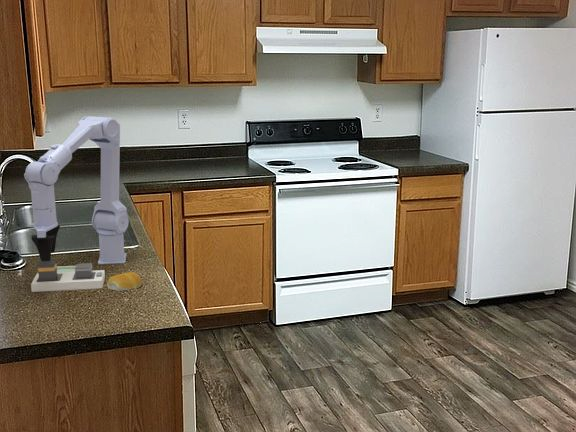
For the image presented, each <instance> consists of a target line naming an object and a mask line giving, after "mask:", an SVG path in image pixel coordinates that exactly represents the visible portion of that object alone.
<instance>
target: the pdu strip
mask: <svg viewBox="0 0 576 432" xmlns="http://www.w3.org/2000/svg"><path fill="white" fill-rule="evenodd" d="M75 266H76V267H75V271H74V272H57V278H58V281H48V282H39V273H38V272H37V273H36V275H35V276H34V277H33V279H32V282H31V284H30V288H31V293H35V292H36V293H37V292H55V291H58V292H59V291H75V290H93V289H94V290H95V289H103V287H104V282H105V278H106V276H105V275H106V273H105V269H100V270H99V269H97V270H93V263H92V262H86V263H85V262H84V263H76V265H75Z"/></svg>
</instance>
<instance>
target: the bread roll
mask: <svg viewBox="0 0 576 432" xmlns="http://www.w3.org/2000/svg"><path fill="white" fill-rule="evenodd" d="M142 285H143V282H142V277H140V275H138V273H135V272H133V271H129V272H123V273H119V274H115V275H112V276H110V277H109V278H108V280H107V282H106V287H107V288H108V289H109V290H113V291H115V292H123V291H124V292H125V291H129V290H133V289H139V288H140V287H141V286H142Z"/></svg>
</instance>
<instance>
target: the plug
mask: <svg viewBox="0 0 576 432" xmlns="http://www.w3.org/2000/svg"><path fill="white" fill-rule="evenodd" d="M57 266H58V265H57V259H50V261H41V260H39V262H38V263H37V271H38V272H37V273H39V282H48V281H58V278H57Z"/></svg>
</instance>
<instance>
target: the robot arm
mask: <svg viewBox="0 0 576 432" xmlns="http://www.w3.org/2000/svg"><path fill="white" fill-rule="evenodd" d="M89 140H90V141H91V142H94V143H95V144H96V145H97V147H99V148H100V200H99V202H97V203H96V204H95V205H94V206H93V214H92V217H91V225H92V227H93V228H94V229H95V230H96V233H98V243H99V246H98V247H99V258H98V261H97V265H106V264H107V265H110V264H125V263H126V262H127V261H126V260H127V253H126V252H125V243H124V241H125V240H124V233H126V231H127V229H128V227H129V221H130V219H129V215H128V212H127V211H128V210H127V209H128V208H127V207H126V206H125V205H124V204H123V203H122V202H121V201H120V162H121V161H120V158H121V157H120V154H121V153H120V152H121V150H120V148H121V145H120V143H121V124H120V123H119V122H118V120H117V119H115V118H114V117H112V116H109V117H107V116H106V117H105V116H92V115H91V116H90V115H85V116H83V117H82V118H81V119H80V120H78V121H77V127H76V128H75V129H74V131H72V132H71V134H70V135H69V136H68V137H67V138H66V139H65V140H64V141H63V142H62V144H61V143H56V144H51V146H50V149H49V150H48V151H47V152H45V153H44V154H43V155H41V156H40V157H39V159H38V160H37V161H31V162H30V163H29V164H28V165H27V166H26V168H25V173H23V176H24V180H25V181H26V182H27V183H28V188H29V190H30V193H31V194H30V195H31V205H32V207H31V208H32V217H33V222H30V223H29V224H28V227H29V228H34V229H35V231H36V234H33V235H32V236H30V237H31V238H30V239H31V241H32V242H33V244H34V246H35V247H36V249H37V252H38V255H39V258H40V261H50V260H52V259H51V258H52V253H55V250H56V246H57V245H56V243H57V237H58V233H59V230H60V227H61V225H60V224H59V223H58V219H57V210H56V209H57V207H56V197H55V196H56V195H55V183H57V181H58V179H59V175H60V173H61V170H62V169H64V168H65V167H66V166H67V165H68V164H69V163H70V162H71V161H72V159H73V153H74V152H76V151H77V150H78V149H79V148H80V147H81V146H82V145H84V144H85V143H86V142H88V141H89Z"/></svg>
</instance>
